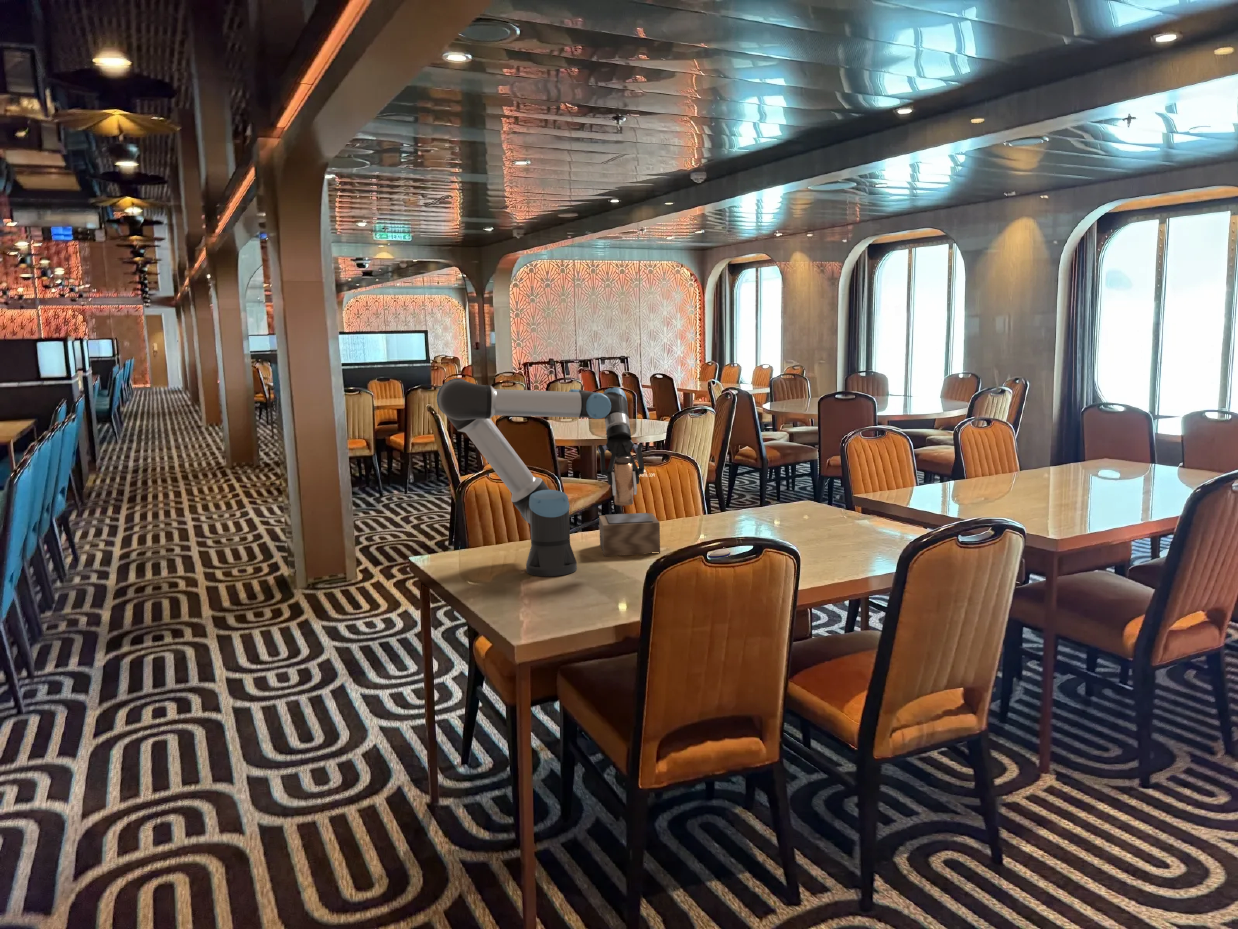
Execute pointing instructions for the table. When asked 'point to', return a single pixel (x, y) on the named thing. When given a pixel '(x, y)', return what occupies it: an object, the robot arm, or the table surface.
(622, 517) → the walnut stand
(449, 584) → the table surface
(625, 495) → the copper pepper mill
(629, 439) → the robot arm
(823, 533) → the table surface
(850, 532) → the table surface
